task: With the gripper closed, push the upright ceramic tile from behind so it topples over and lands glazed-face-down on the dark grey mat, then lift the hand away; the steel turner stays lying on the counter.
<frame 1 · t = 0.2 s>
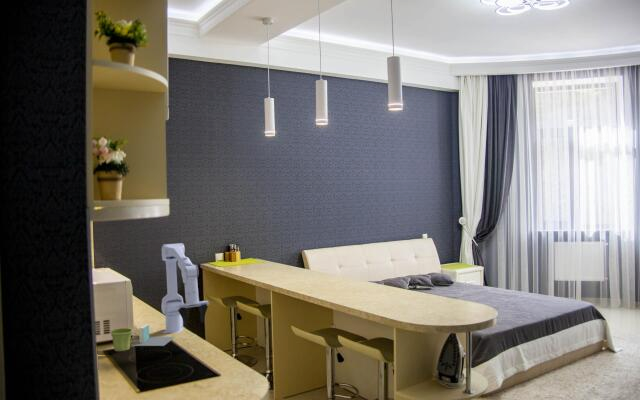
hand: (194, 323, 240), 11 cm above the table, tool pointing down, fingers open, 7 cm apart
plant pot: (122, 350, 239), on the table
tile: (144, 341, 250), point 1 cm above the table, touching mat
turner: (143, 338, 258), on the table, touching mat
mat: (152, 342, 250), on the table
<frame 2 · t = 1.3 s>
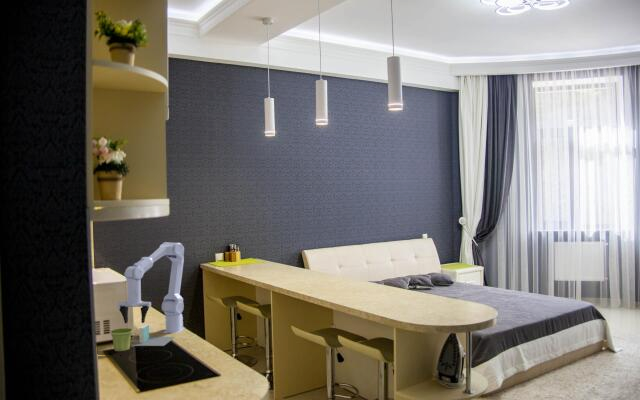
hand: (134, 322, 247), 10 cm above the table, tool pointing down, fingers open, 7 cm apart
nothing on the table moved.
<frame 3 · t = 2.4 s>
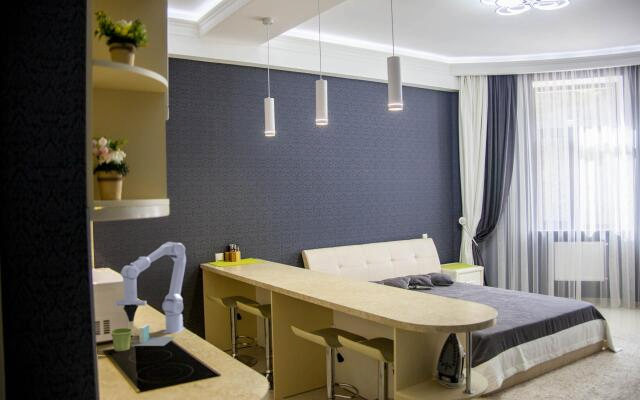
hand: (131, 321, 250), 10 cm above the table, tool pointing down, fingers closed
nothing on the table moved.
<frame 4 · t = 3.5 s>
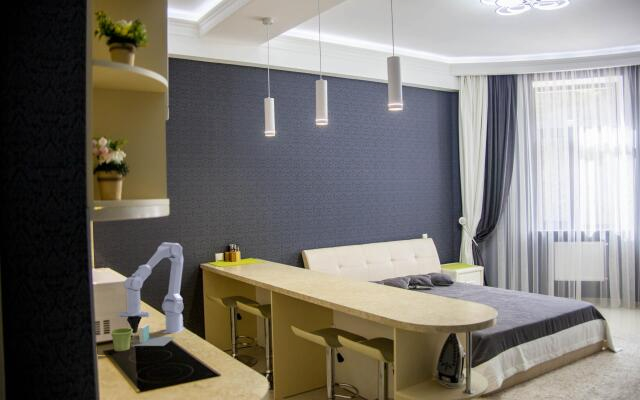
hand: (134, 332, 250), 5 cm above the table, tool pointing down, fingers closed
nothing on the table moved.
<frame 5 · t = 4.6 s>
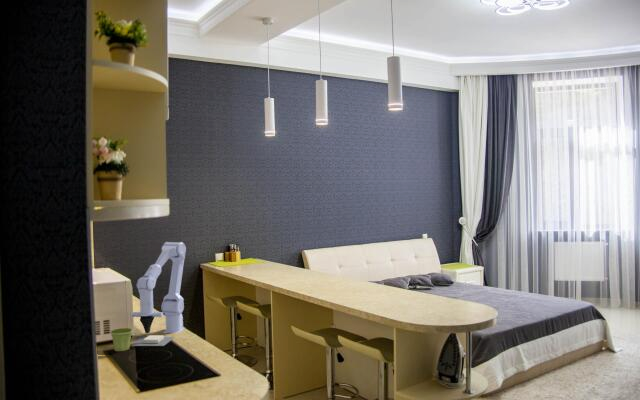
hand: (147, 332, 250), 5 cm above the table, tool pointing down, fingers closed
tile: (146, 339, 250), point 2 cm above the table, tilted 90°, touching mat
everything else where it was.
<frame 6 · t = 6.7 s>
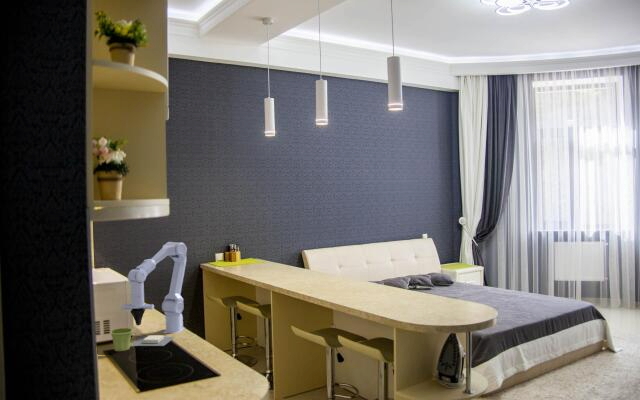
hand: (138, 324, 250), 8 cm above the table, tool pointing down, fingers closed
nothing on the table moved.
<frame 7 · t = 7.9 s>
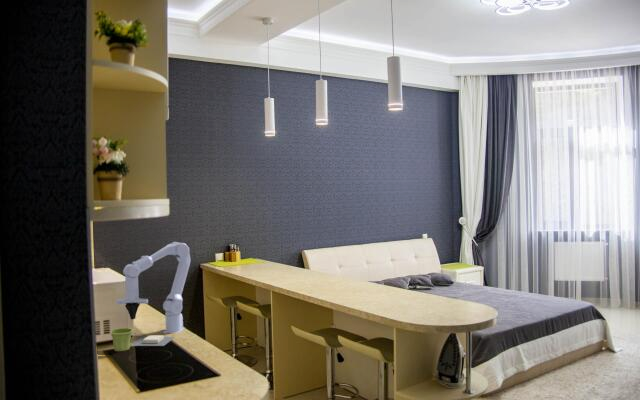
hand: (133, 318, 254), 10 cm above the table, tool pointing down, fingers closed
nothing on the table moved.
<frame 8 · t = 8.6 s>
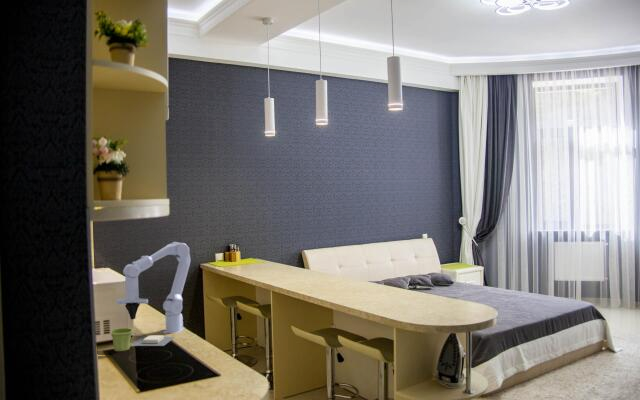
hand: (133, 318, 254), 10 cm above the table, tool pointing down, fingers closed
nothing on the table moved.
at the end: tile tilted 90°; tile inside the target area (3.6 cm from its centre), point 1.5 cm above the table; the gripper is holding nothing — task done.
